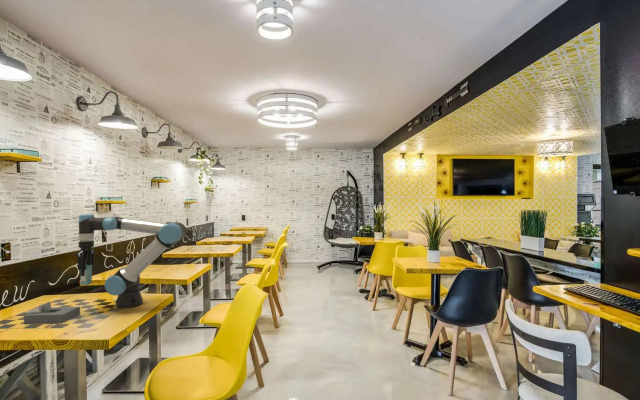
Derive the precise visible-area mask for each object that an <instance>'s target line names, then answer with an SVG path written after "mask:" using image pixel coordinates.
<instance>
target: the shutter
mask: <svg viewBox="0 0 640 400" xmlns="http://www.w3.org/2000/svg"><path fill="white" fill-rule="evenodd" d="M51 303H52V302H51V301H48V302H45V303H42V304H40V305H39V306H38V307H34V308H32V309H29V310H28V311H26V314H29V313H42V312H44V311H46V310H49V309H51V306H52V305H51Z"/></svg>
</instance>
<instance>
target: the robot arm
mask: <svg viewBox="0 0 640 400" xmlns="http://www.w3.org/2000/svg"><path fill="white" fill-rule="evenodd" d="M114 230H119V231H127V232H128V231H129V232H135V233H137V232H138V233H143V234H144V233H145V234H151V235H154V240H152V241H151V242H150V243H149V244H148V245H147V246H146V247H145V248H144V249H143V250H142V251H141V252H140V253H139V254H138V255H137V256H136V257H134V258H133V260H131V261H130V262H129V263H128V264H127V265H126V266H125V267H120V268H119V269H118V270H117V271H116V272H115V273H114V274H113V275H110V276H108V277H107V279H106V280H105V282H104V289H105V291H106V292H107V294H109V295H111V296H117V298H116V300H115V308H118V309H128V308H134V307H138V305H139V306H141V305H143V304H144V298H143V296H142V294H141V287H140V286H141V284H140V283H141V282H140V281H141V279H140V278H141V277H140V276H141V274H142V272H144V271H145V270H146V269H147V268H148V267H149V266H150V265H151V264H152V263H153V262H154V261H155V260H157V258H159V256H160V255H161V254H162V253H163V252H165V251H166V250H169V249H171V248H172V247H174V246H175V244H177V243H178V242H179V241H181V240H183V239H184V238H185V237H186V236H187V233H188V231H187V227H186V226H185V225H184V224H183V223H181V222H171V221H167V222H157V221H150V220H144V219H143V220H141V219H134V218H127V217H126V218H125V217H121V216H112V217H111V216H110V217H95V215H94V214H91V213H90V214H80V215H79V216H78V248H79V249H80V251H79V252H77V253H76V256H77V270H78V271H80V270H81V282H85V281H86V270H85V269H86V265H92V269H94V268H95V257H96V256H95V255H96V254H95V253H96V249H93V248H94V246H95V241H94V240H95V231H114ZM142 303H143V304H142ZM140 304H141V305H140Z"/></svg>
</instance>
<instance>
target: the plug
mask: <svg viewBox="0 0 640 400" xmlns="http://www.w3.org/2000/svg"><path fill="white" fill-rule="evenodd" d="M85 270H86V281H85V282H81V270H79V273H80V276H79V277H80V278H79V279H80V282H79V285H81V286H87V285H90V284H93V282H92V280H93V278H92V277H93V276H92V275H93V273H92V272H93V268H92V265H87V264H86V269H85Z"/></svg>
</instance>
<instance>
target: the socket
mask: <svg viewBox="0 0 640 400" xmlns="http://www.w3.org/2000/svg"><path fill="white" fill-rule="evenodd" d="M80 314H81V306H60V307H59V306H58V307H55V306H54V307H51V309H49V310H46V311H44V312H42V313H26V314H24V315H23V324H24V325H31V324H32V325H37V324H38V325H39V324H41V325H43V324H64V323H66V322H67V321H70V320H72V319H74V318H76V317H79V316H80Z"/></svg>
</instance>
